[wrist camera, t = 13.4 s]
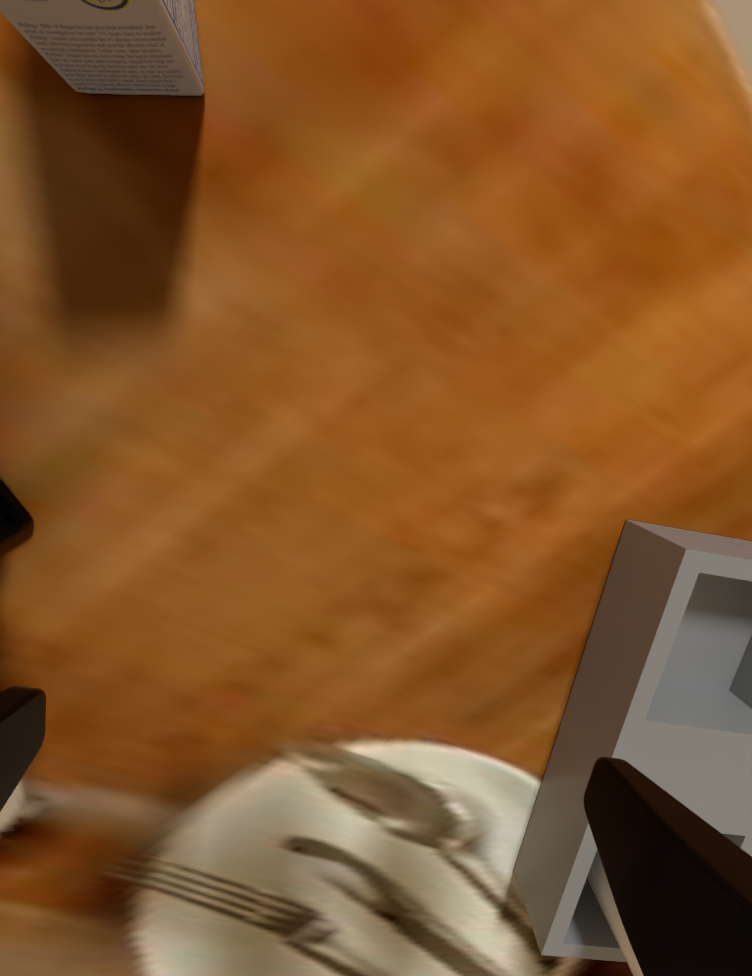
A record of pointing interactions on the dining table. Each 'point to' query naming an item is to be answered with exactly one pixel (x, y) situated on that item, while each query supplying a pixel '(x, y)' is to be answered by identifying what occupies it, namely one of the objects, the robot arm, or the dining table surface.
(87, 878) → the dining table surface
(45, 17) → the medicine box
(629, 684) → the caddy
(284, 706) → the dining table surface
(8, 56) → the dining table surface
